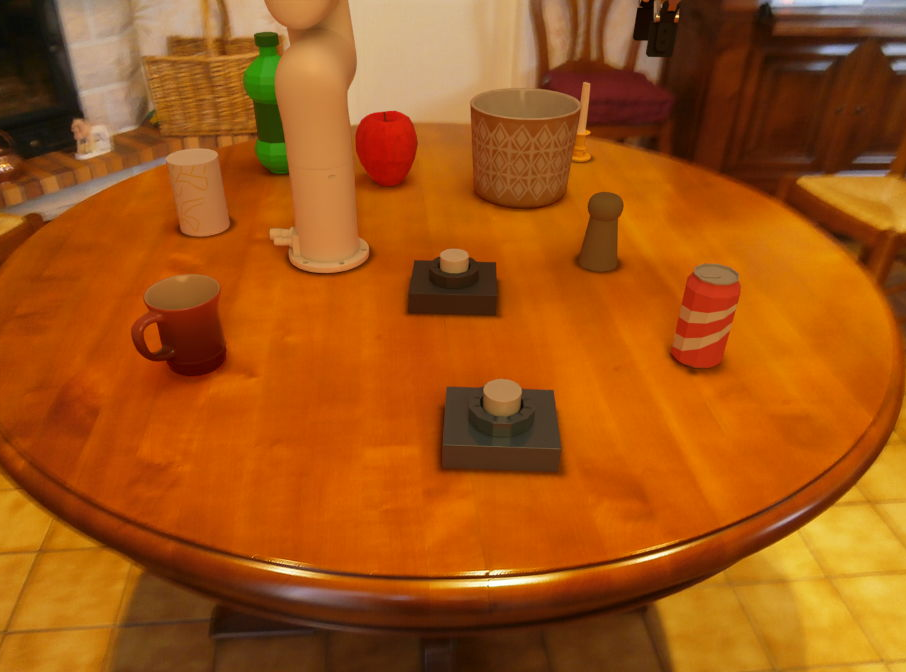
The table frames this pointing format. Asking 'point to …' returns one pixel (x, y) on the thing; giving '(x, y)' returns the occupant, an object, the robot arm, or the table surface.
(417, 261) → the dark brown button base
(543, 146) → the planter
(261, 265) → the table surface
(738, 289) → the beverage can
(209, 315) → the mug
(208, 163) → the cup
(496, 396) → the beige push button
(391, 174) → the apple
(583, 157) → the candle
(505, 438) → the front button base
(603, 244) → the pawn
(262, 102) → the plastic bottle
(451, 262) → the push button
